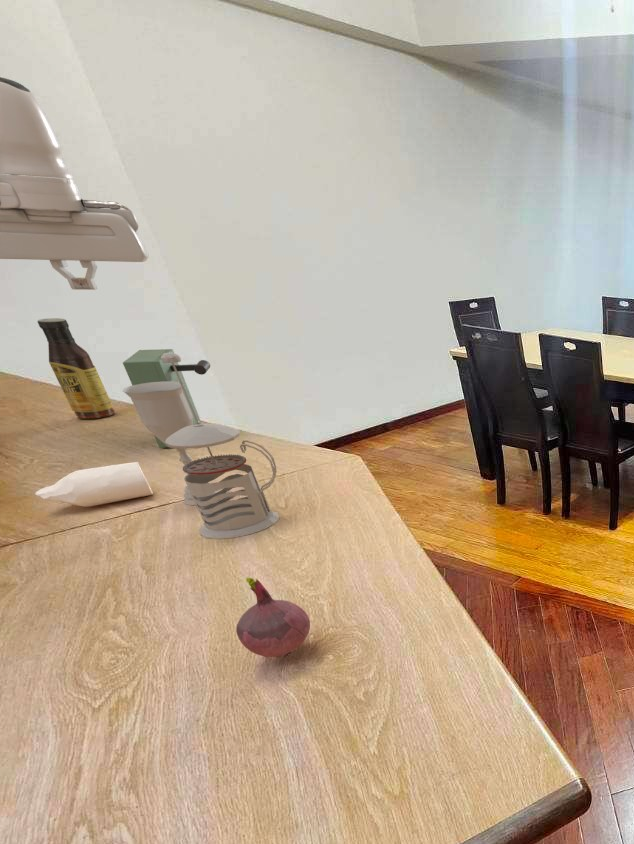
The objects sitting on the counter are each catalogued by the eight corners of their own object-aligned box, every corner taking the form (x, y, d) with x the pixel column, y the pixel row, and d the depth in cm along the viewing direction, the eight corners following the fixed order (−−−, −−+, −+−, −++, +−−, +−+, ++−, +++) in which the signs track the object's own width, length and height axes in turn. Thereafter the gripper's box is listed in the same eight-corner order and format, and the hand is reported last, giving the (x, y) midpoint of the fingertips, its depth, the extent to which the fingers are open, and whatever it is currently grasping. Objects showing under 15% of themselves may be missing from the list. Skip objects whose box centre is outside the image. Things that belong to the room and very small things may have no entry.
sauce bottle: (69, 418, 126) (16, 320, 116) (102, 410, 131) (55, 316, 122) (92, 421, 125) (41, 322, 115) (125, 413, 130) (79, 318, 120)
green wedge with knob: (122, 362, 105) (197, 360, 110) (139, 349, 114) (208, 348, 119) (159, 448, 113) (228, 442, 118) (172, 430, 122) (236, 425, 127)
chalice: (173, 496, 96) (120, 385, 87) (225, 486, 100) (180, 379, 91) (178, 511, 91) (124, 396, 82) (233, 500, 96) (186, 389, 87)
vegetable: (308, 631, 67) (277, 556, 62) (329, 654, 64) (299, 577, 59) (244, 656, 63) (206, 578, 58) (263, 683, 60) (225, 602, 55)
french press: (206, 515, 91) (131, 347, 78) (297, 503, 95) (239, 343, 83) (190, 543, 83) (104, 362, 71) (289, 529, 88) (224, 357, 76)
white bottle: (47, 507, 91) (27, 473, 88) (150, 487, 98) (135, 456, 96) (47, 520, 87) (26, 485, 84) (155, 499, 95) (139, 466, 92)
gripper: (134, 202, 104) (166, 287, 110) (-38, 192, 94) (9, 286, 101) (124, 202, 99) (159, 291, 106) (-57, 192, 89) (-6, 290, 96)
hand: (85, 289), depth 103 cm, fingers closed
